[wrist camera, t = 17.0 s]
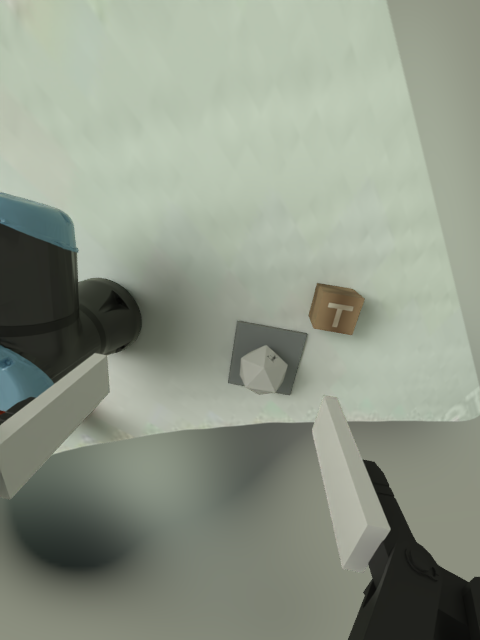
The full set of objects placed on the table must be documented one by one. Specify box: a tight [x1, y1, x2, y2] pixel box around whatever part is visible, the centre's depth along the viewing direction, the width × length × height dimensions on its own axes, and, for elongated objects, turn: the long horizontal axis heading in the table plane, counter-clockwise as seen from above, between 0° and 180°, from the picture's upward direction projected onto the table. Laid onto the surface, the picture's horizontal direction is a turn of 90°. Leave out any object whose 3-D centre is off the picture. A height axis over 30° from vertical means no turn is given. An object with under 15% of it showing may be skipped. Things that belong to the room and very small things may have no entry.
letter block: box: [309, 283, 364, 335], centre depth 40 cm, size 6×6×6 cm
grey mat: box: [228, 321, 307, 395], centre depth 48 cm, size 13×14×1 cm
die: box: [240, 345, 288, 394], centre depth 44 cm, size 8×9×10 cm
